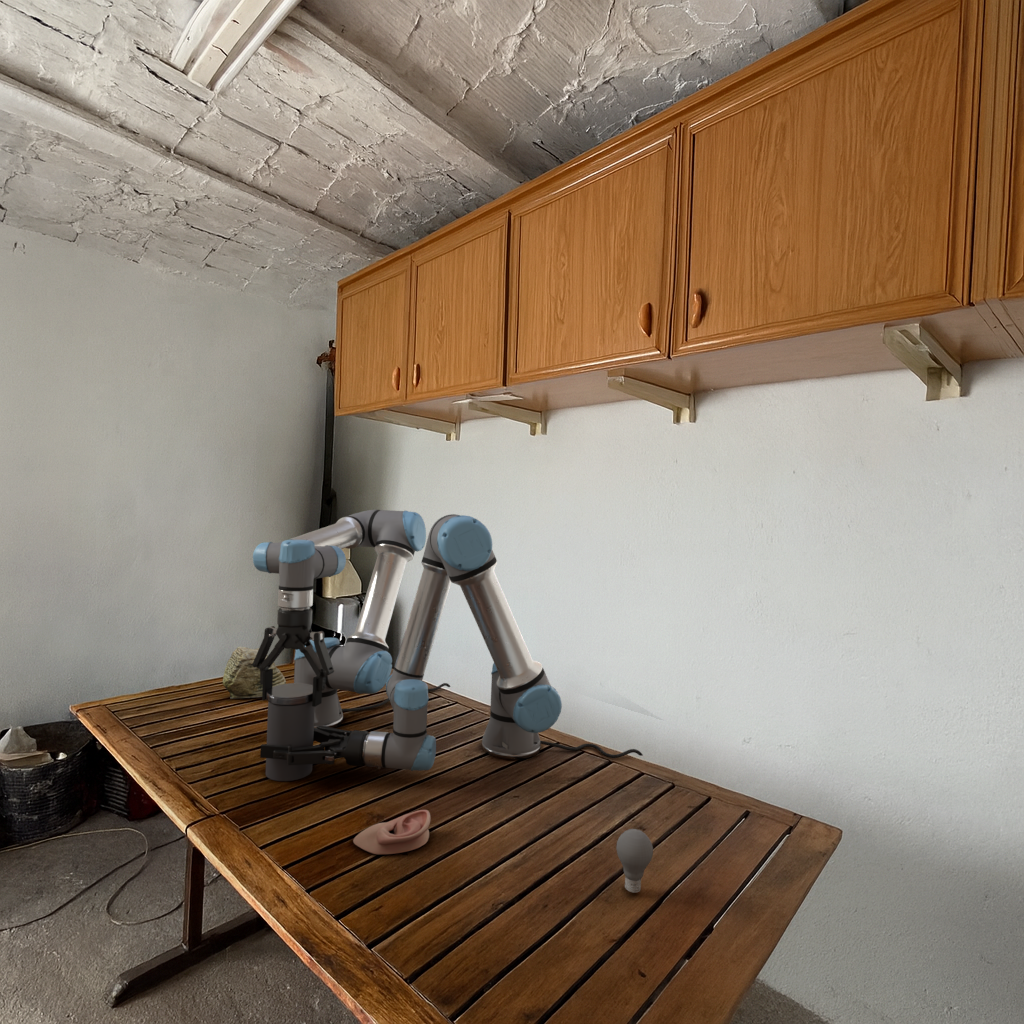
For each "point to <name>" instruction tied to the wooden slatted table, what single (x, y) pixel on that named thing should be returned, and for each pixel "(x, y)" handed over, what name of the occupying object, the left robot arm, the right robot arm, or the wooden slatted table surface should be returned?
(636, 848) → the light bulb
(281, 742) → the jar
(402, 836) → the anatomical model
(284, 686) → the lid
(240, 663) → the fossil
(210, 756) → the wooden slatted table surface
